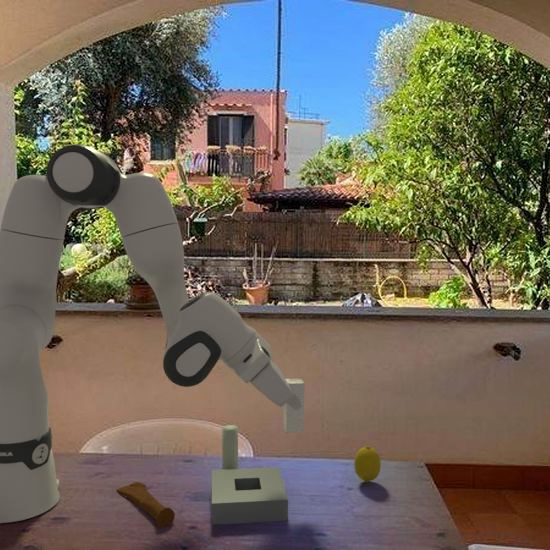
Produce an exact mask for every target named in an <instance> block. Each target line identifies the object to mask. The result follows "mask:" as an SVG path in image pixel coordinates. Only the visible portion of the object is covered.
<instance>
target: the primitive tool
mask: <svg viewBox="0 0 550 550" xmlns="http://www.w3.org/2000/svg"><path fill="white" fill-rule="evenodd" d="M118 488H119V487H118ZM118 488H117V489H116V490H117V491H118V492H117V491H116V492H117V493H119V494H120V495H121V494H122V495H121V496H123V495H124V496H126V497H127V499H128V500H129V499H130V500H129V501H131V502H133V503H134V504H135V505H136V506H138V507H139V508H141V509H142V510H144V511H145V512H146V513H148V514H149V515H150V516H152V517H153V518H154V519H155V520H156V524H157V526H158V527H159V528H164V527H168V526H170V525H171V524H172V523H173V522H174V520H175V517H176V513H175V511H174V510H173V509H172V508H171V507H165V506H164V505H163V503H160V502H159V501H158V500H157V499H156V498H155V497H154V496H153V495H152V494H151V493H150V492H149V491H148V490H147V485H146V484H144V483H142V482H140V481H135V482H132V483H130V484H129V485H126V486H122V487H120V488H119V489H118ZM124 496H123V497H124ZM126 497H125V498H126Z"/></svg>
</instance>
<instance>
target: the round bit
mask: <svg viewBox="0 0 550 550" xmlns="http://www.w3.org/2000/svg"><path fill="white" fill-rule="evenodd" d="M221 438H222V439H221V441H222V444H221V447H222V449H221V451H222V453H221V454H222V455H221V456H222V457H221V458H222V459H221V470H222V469H239V427H238V426H237V425H232V424H231V425H228V424H227V425H224V426H222V429H221Z"/></svg>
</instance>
